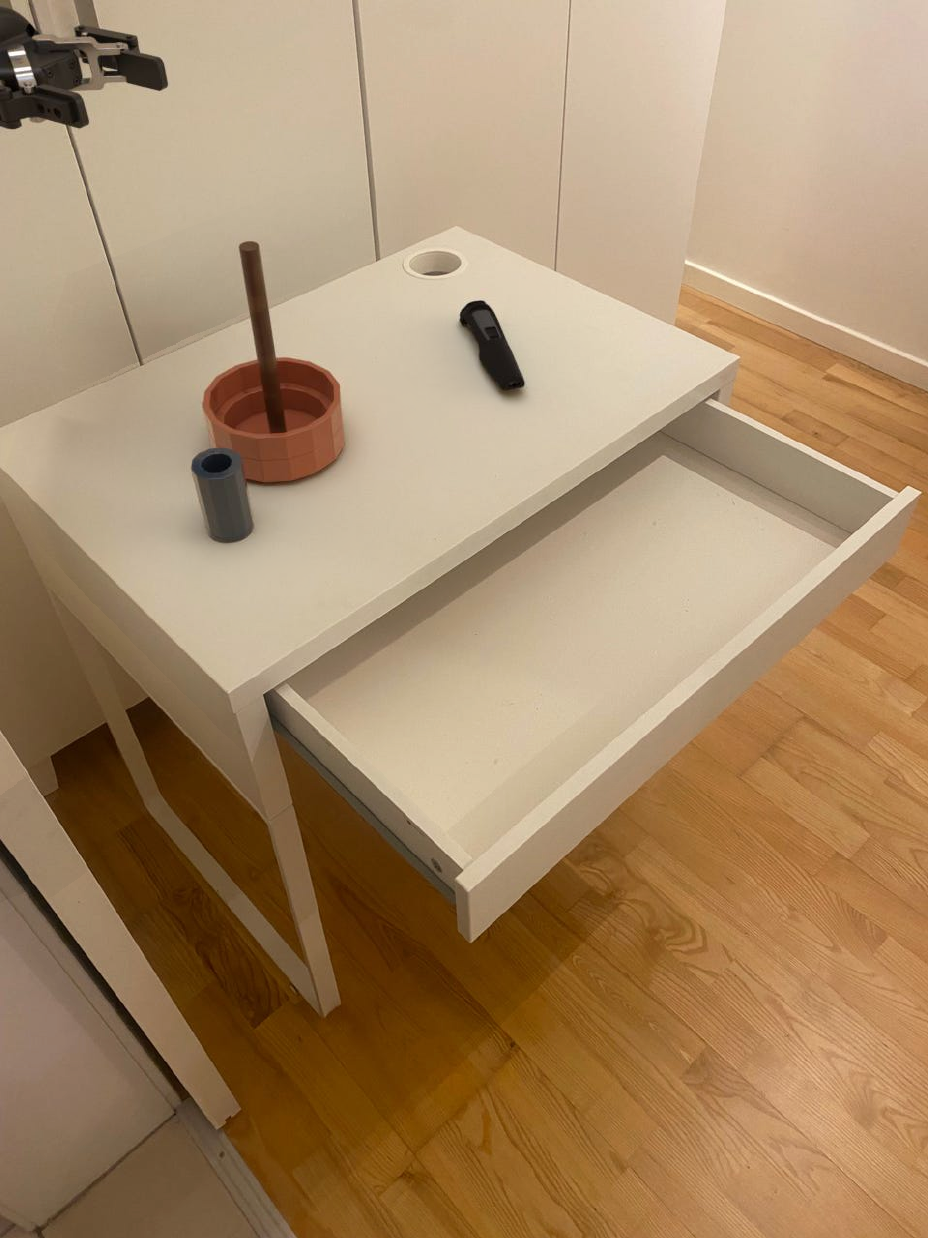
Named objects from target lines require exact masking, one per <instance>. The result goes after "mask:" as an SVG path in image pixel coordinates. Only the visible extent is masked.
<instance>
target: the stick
mask: <svg viewBox="0 0 928 1238" xmlns="http://www.w3.org/2000/svg"><path fill="white" fill-rule="evenodd" d="M238 251H239V257H240V263H241V267H242V268H241V269H242V275H243V281H244V287H245V292H246V299H247V306H248V313H249V316H250V323H251V329H252V335H253V342H254V347H255V354H256V359H257V360H258V366H259V372H260V378H261V384H262V390H263V396H264V402H265V408H266V414H267V420H268V426H269V432H270V434H271V433H285V432H287V428H286V421H285V415H284V408H283V401H282V395H281V388H280V381H279V374H278V368H277V361H276V358H277V355H276V348H275V343H274V342H275V341H274V335H273V328H272V321H271V316H270V315H271V314H270V308H269V302H268V294H267V287H266V281H265V274H264V268H263V260H262V254H261V248H260V244H259V243H258V242H257V241H254V240H247V241H246V240H245V241H243V242H241V243H239V244H238Z"/></svg>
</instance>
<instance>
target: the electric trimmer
mask: <svg viewBox="0 0 928 1238" xmlns="http://www.w3.org/2000/svg"><path fill="white" fill-rule="evenodd" d="M459 323H460V324H461V325H462V326H466V325H467V326H468V328H469V330H470V331H471V333H472V336H473V337H474V340H475V341H476V343H477V347H478V358H479V361H480V363H481V364H482V366H483V368H484V369H485V370H486V371H487V373H488V374H489V376H490V377H491V378H492V380H494V382H495V383H496V385H497V386H498V387H499V388H500V390H502V391H509V390H515V389H520V388H521V389H522V388H524V387H525V379H524V376H523V373H522V371H521V369H520V366H519V364H518V361H517V359H516V357H515V355H514V352H513V350H512V349H511V346H510V344H509V343H508V341H507V338H506V336H505V333H504V331H503V329H502V327H501V324H500V322H499V320H498V318H497V315H496V314H495V312H494V310H493V308H492V307H491V306H490V305H489V304H488V303H487V302H486V301H485V300H482V299H480V300H473V301H470V302H467V303H466V304H465V305H464V306H463V308H462V309H461V311H460V313H459Z"/></svg>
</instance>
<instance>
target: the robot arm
mask: <svg viewBox="0 0 928 1238" xmlns="http://www.w3.org/2000/svg"><path fill="white" fill-rule="evenodd" d="M73 31H74V35H75V36H67V37H66V36H64V37H63V36H62V37H59V36H57V35H56V34H53V33H47V34H45V33H43V34H41V33H40V32H39V31H38V30H37V28H35V27H34V26H33V25H32V23H31V22H30V21H29V20H28V19H27V18H26V17H25V16H24V15H22V14H21V13H20V12H19V11H16V10H15V9H13V8H10V7H7V6H3V5H0V127H1V128H3V129H7V130H17V129H19V128H21V127H22V126H23V124H22V120H24V119H29V122H31V123H36V124H41V123H43V122H46V121H51V122H52V123H53V122H54V123H57V124H61V125H65V126H68V127H71V128H75V129H79V130H80V129H82V128H84V127H87V126H88V125H89V124H90V118H89V115H88V111H87V107H86V104H85V103H86V102H85V100H84V98H83V97H82V95H81V94H80V93H79V92H81V91H101V90H103V89H104V87H105V84H111V83H126V84H129V85H133V86H137V87H140V88H146V89H150V90H152V91H153V90H154V91H157V92H161V91H163V90H165V89H167V88H168V87H169V81H168V76H167V70H166V66H165V63H164V61H163V58H161V57H160V56H157V55H152V54H148V53H144V52H141V50H140V45H139V44H140V43H139V38H138V36H137V35H135V34H131V33H125V32H120V31H114V30H109V29H105V28H99V27H94V26H89V25H85V24H79V25H77V26H75V27H74V28H73ZM80 59H81V62H82V63H83V64H85V65H88V66H89V70H90V73H91V77H84V74H83V69H82V66H81V62H80ZM105 68H106V69H110V70H106V69H105Z"/></svg>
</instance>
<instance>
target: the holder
mask: <svg viewBox="0 0 928 1238" xmlns="http://www.w3.org/2000/svg"><path fill="white" fill-rule="evenodd" d="M190 471H191V475H192V479H193V482H194V487H195V491H196V495H197V498H198V503H199V506H200V511H201V515H202V519H203V522H204V527H205V529H206V531H207V534H208V535H209V537H210V538H211V539H212V540H214V541H217V542H220V543H235V542H239V541H241V540H243V539H246V538H247V537H248V536H249V535H251V533H252V532H253V530H254V528H255V521H254V513H253V512H254V511H253V507H252V502H251V497H250V491H249V487H248V482H247V478H246V476H245V471H244V466H243V461H242V457H241V456H240V455H239V454H238V453H237V452H236V451H235V450H232V449H228V448H211V447H210V448H208V449H205V450H203V451H200V452H198V453H197V455H196V456H194V458H193V459H192V460H191V465H190Z"/></svg>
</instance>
